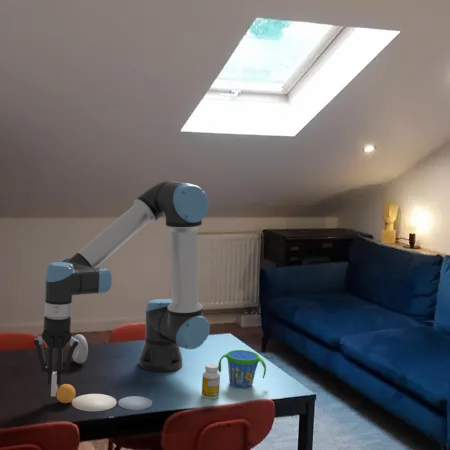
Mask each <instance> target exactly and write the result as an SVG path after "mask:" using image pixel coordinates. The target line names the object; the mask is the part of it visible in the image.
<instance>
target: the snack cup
mask: <svg viewBox="0 0 450 450" xmlns="http://www.w3.org/2000/svg"><path fill="white" fill-rule="evenodd" d="M224 358H226V359H227V367H228V368H227V369H228V376H229V377H228V381H229V384H230V385H231V386H232V387H234V388H243V389H246V388H250V387H252V386H253V384H254V379H255V375H256V371H257V369H258V368H257V367H258V365H259V363H261V365H262V366H263V369H264V370H263V375H262V379H264V378H265V376H266V372H267V365H266V361H264V359H262V358H261V357H260V356H259V354H258V353H256V352H254V351H250V350H245V349H244V350H243V349H235V350H230V351H228V352H226V353H225V354H223V355H222V356H221V357H220V359H219V361H218V364H217V365H218V372H219V373H221V372H222V359H224Z"/></svg>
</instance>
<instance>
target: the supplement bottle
mask: <svg viewBox="0 0 450 450" xmlns="http://www.w3.org/2000/svg"><path fill="white" fill-rule="evenodd" d="M218 365H219V364H216V363H207V364H205V367H204V369H205V371H203V372H202V383H201V396H202V397H203V398H205V399H209V400H211V399H213V400H214V399H218V398H219V396H220V383H221V372H219V370H218Z"/></svg>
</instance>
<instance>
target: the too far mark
mask: <svg viewBox="0 0 450 450" xmlns="http://www.w3.org/2000/svg"><path fill="white" fill-rule="evenodd" d="M117 405H118V406H119V407H120V408H122V409H125V410H128V411H129V410H131V411H140V410H146V409H149V408H150V407H151V406H152V405H153V401H152V400H151V399H149V398H147V397H144V396H139V395H137V396H136V395H135V396H134V395H133V396H126V397H123V398H121V399H119V400H118V401H117Z"/></svg>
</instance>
